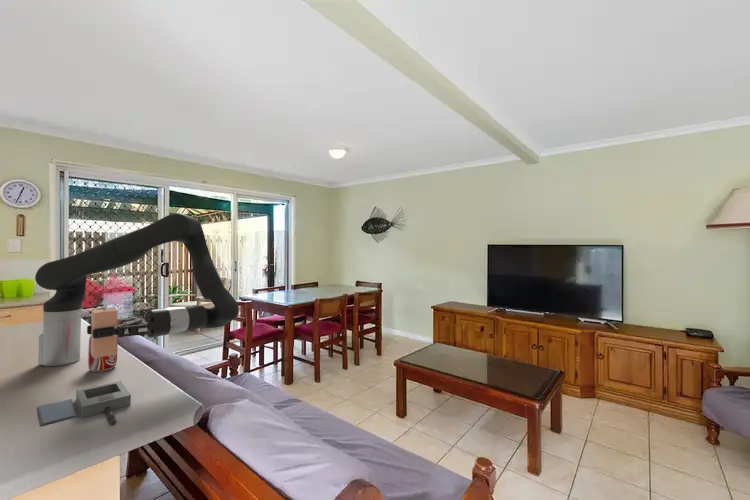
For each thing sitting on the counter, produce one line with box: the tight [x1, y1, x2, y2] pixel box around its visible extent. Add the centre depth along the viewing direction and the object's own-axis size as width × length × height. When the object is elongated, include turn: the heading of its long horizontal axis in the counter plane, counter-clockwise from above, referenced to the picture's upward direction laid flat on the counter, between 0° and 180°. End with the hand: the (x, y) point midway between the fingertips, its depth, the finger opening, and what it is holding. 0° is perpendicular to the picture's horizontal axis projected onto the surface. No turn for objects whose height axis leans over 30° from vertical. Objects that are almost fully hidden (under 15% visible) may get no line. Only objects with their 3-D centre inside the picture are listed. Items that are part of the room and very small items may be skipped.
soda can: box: [87, 335, 119, 373], centre depth 105 cm, size 7×7×12 cm
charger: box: [90, 307, 118, 358], centre depth 84 cm, size 4×4×11 cm
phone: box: [36, 398, 79, 427], centre depth 78 cm, size 12×6×1 cm, turn 48°
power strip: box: [75, 380, 132, 425], centre depth 80 cm, size 20×9×3 cm, turn 47°
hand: (90, 331), depth 82 cm, fingers closed on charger, 4 cm apart
